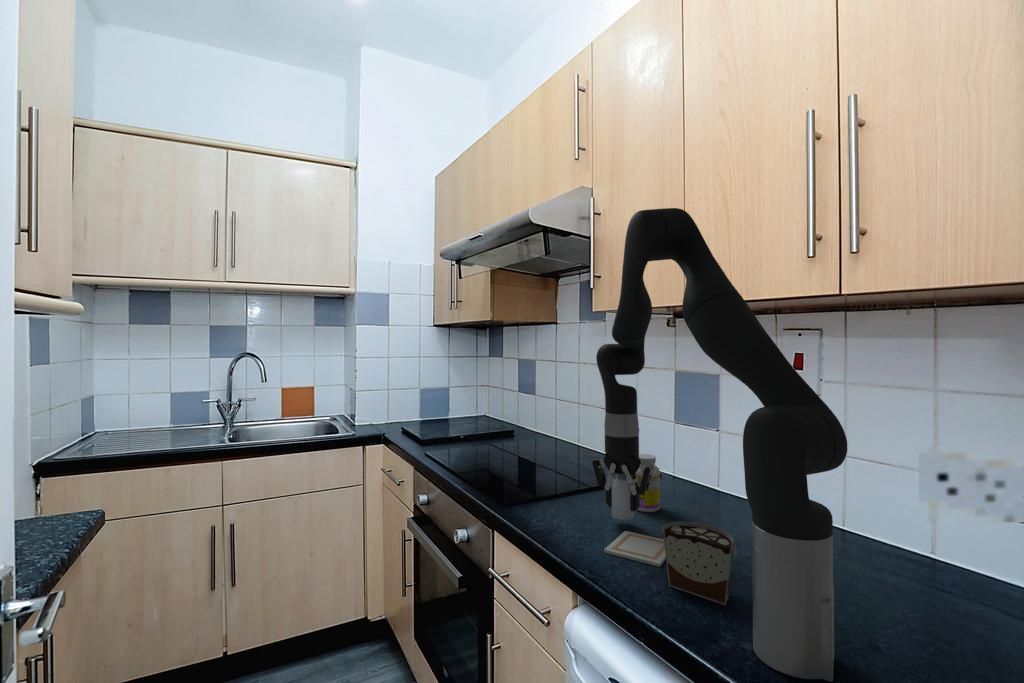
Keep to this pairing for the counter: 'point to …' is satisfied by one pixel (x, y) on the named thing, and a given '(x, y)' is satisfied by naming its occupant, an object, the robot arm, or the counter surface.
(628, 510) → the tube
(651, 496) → the supplement bottle
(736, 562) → the counter surface
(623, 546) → the card
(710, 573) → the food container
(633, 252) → the robot arm
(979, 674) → the counter surface
